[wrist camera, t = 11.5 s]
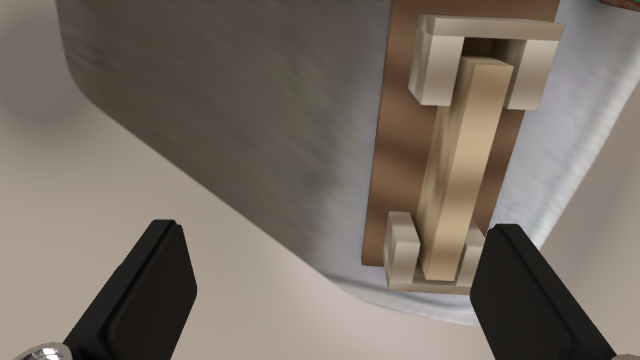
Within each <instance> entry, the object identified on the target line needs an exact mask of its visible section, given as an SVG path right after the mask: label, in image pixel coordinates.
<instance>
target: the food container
mask: <svg viewBox="0 0 640 360" xmlns="http://www.w3.org/2000/svg"><path fill="white" fill-rule="evenodd" d="M599 1H600V2H602V3H605V4H608V5H611V6H614V7H619V8H623V9H628V10H633V11H637V12H640V0H599Z"/></svg>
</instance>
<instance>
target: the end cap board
mask: <svg viewBox="0 0 640 360" xmlns="http://www.w3.org/2000/svg"><path fill="white" fill-rule="evenodd" d="M559 2H560V0H392V3H391V11H390V20H389V28H388V37H387V45H386V54H385V62H384V70H383V79H382V87H381V96H380V104H379V113H378V121H377V129H376V138H375V146H374V155H373V163H372V172H371V180H370V188H369V197H368V205H367V214H366V222H365V231H364V239H363V247H362V256H361V260H362V265H366V266H384V267H385V273H386V278H387V284H388V289H389V290H391V291H408V292H426V293H443V294H461V295H470V289H471V286H472V283H473V279H474V276H475V273H476V269H477V266H478V262H479V259H480V256H481V252H482V249H483V246H484V242H485V236H486V233H487V230H488V227H489V224H490V220H491V217H492V214H493V211H494V208H495V205H496V201H497V198H498V195H499V192H500V189H501V186H502V182H503V179H504V176H505V173H506V170H507V167H508V163H509V160H510V157H511V154H512V151H513V147H514V144H515V141H516V138H517V135H518V132H519V128H520V125H521V122H522V119H523V116H524V113H525V110H537V108H538V104H539V101H540V98H541V95H542V92H543V89H544V86H545V83H546V80H547V77H548V74H549V71H550V68H551V65H552V62H553V59H554V56H555V53H556V50H557V47H558V44H559V41H560V38H561V35H562V32H563V29H564V26H565V24H561V23H553V21H554V17H555V14H556V11H557V8H558V5H559ZM461 52H473V53H481V54H484V55H486V56H489V57H492V58H494V59H497V60H499V61H502V62H504V63H507V64H509V65H512V66H514V68H513V71H512V75H511V79H510V82H509V86H508V89H507V93H506V96H505V100H504V103H503V107H502V111H501V114H500V118H499V121H498V125H497V128H496V132H495V135H494V139H493V143H492V146H491V150H490V153H489V157H488V160H487V164H486V167H485V171H484V175H483V178H482V182H481V185H480V189H479V192H478V196H477V199H476V203H475V207H474V210H473V214H472V217H471V221H470V224H469V228H468V231H467V235H466V239H465V242H464V246H463V249H462V253H461V256H460V260H459V263H458V267H457V271H456V274H455V278H454V281H444V280H426V279H425V276H424V272H423V269H422V266H421V263H420V260H419V257H418V253H419V248H420V241H419V238H418V235H417V233H416V230H415V222H416V217H417V211H418V206H419V201H420V196H421V191H422V186H423V181H424V176H425V170H426V165H427V160H428V155H429V150H430V145H431V140H432V135H433V129H434V124H435V119H436V114H437V109H438V106H450V103H451V98H452V93H453V89H454V84H455V79H456V75H457V70H458V65H459V60H460V56H461Z"/></svg>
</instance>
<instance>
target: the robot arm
mask: <svg viewBox="0 0 640 360" xmlns="http://www.w3.org/2000/svg"><path fill="white" fill-rule="evenodd" d="M196 295H197V284H196V280H195V277H194V273H193V269H192V265H191V261H190V257H189V253H188V249H187V245H186V241H185V237H184V233H183V229H182V226H181V225H177V223H176V222H175V220H153V221H152V222H151V224H150V225H149V226H148V228H147V229H146V230H145V232H144V233H143V235H142V236H141V238H140V239H139V240H138V242H137V243H136V245H135V246H134V247H133V249H132V250H131V251H130V253H129V254H128V255H127V257H126V258H125V260H124V261H123V262H122V264H121V265H119V266H118V267H117V269H116V270H115V271H114V273H113V274H112V276H111V277H110V278H109V280H108V281H107V282H106V284H105V285H104V287H103V288H102V289H101V291H100V292H99V293H98V295H97V296H96V298H95V299H94V300H93V302H92V303H91V304H90V306H89V307H88V309H87V310H86V311H85V313H84V314H83V315H82V317H81V318H80V320H79V321H78V322H77V324H76V325H75V327H74V328H73V329H72V331H71V332H70V333H69V335H68V336H67V337H66V339H65V340H64V342H63V343H54V342H52V343H46V344H41V345H38V346H36V347H33V348H30V349H29V350H27V351H25V352H23V353H22V354H20V355H18V356H17V357H16V358H14V359H13V360H170V359H171V356H172V354H173V352H174V349H175V347H176V345H177V342H178V340H179V337H180V335H181V332H182V330H183V328H184V325H185V323H186V320H187V318H188V315H189V313H190V311H191V308H192V306H193V304H194V301H195V298H196ZM470 300H471V304H472V306H473V308H474V311H475V313H476V315H477V318H478V320H479V322H480V325H481V327H482V329H483V332H484V334H485V336H486V339H487V341H488V343H489V346H490V348H491V350H492V353H493V355H494V357H495V360H640V356H635V355H630V354H625V355H624V354H623V355H617V354H616V353H615V352H614V351H613V349H612V348H611V346H610V345H609V344H608V342H607V341H606V340H605V338H604V337H603V336H602V334H601V333H600V332H599V330H598V329H597V328H596V326H595V325H594V324H593V322H592V321H591V320H590V318H589V317H588V316H587V314H586V313H585V312H584V310H583V309H582V308H581V306H580V305H579V304H578V302H577V301H576V300H575V298H574V297H573V296H572V294H571V293H570V292H569V290H568V289H567V288H566V287H565V285H564V284H563V282H562V281H561V280H560V279H559V277H558V276H557V275H556V273H555V272H554V271H553V269H552V268H551V267H550V265H549V264H548V263H547V262H546V260H545V259H544V257H543V256H542V255H541V253H540V252H539V251H538V249H537V248H536V247H535V245H534V244H533V243H532V241H531V240H530V239H529V237H528V236H527V235H526V233H525V232H524V231H523V229H522V228H521V227H520V226H519V225H518V224H496V225H495V226H494V228H491V229H489V230H488V232H487V236H486V239H485V242H484V246H483V249H482V252H481V256H480V259H479V262H478V266H477V269H476V273H475V276H474V279H473V283H472V286H471V289H470Z"/></svg>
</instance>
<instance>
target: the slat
mask: <svg viewBox="0 0 640 360" xmlns="http://www.w3.org/2000/svg"><path fill="white" fill-rule="evenodd" d="M513 68H514V66H512V65H509V64H507V63H504V62H502V61H499V60H497V59H494V58H492V57H489V56H486V55H484V54H481V53H473V52H461V56H460V60H459V65H458V70H457V75H456V79H455V84H454V89H453V93H452V98H451V103H450V106H438V109H437V114H436V119H435V124H434V129H433V135H432V140H431V145H430V150H429V155H428V160H427V165H426V170H425V176H424V181H423V186H422V191H421V196H420V201H419V206H418V211H417V217H416V222H415V230H416V233H417V235H418V238H419V241H420V248H419V253H418V257H419V260H420V263H421V266H422V269H423V272H424V276H425V279H426V280H444V281H454V278H455V274H456V271H457V267H458V263H459V260H460V256H461V253H462V249H463V246H464V242H465V239H466V235H467V231H468V228H469V224H470V221H471V217H472V214H473V210H474V207H475V203H476V199H477V196H478V192H479V189H480V185H481V182H482V178H483V175H484V171H485V167H486V164H487V160H488V157H489V153H490V150H491V146H492V143H493V139H494V135H495V132H496V128H497V125H498V121H499V118H500V114H501V111H502V107H503V103H504V100H505V96H506V93H507V89H508V86H509V82H510V79H511V75H512V71H513Z"/></svg>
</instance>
